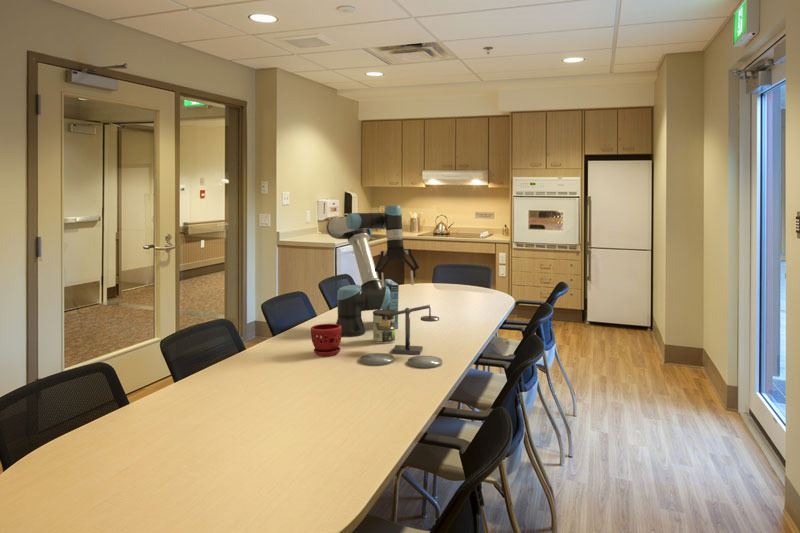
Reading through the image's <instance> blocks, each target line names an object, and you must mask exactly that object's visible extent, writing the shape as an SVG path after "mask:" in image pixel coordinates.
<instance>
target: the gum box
mask: <svg viewBox="0 0 800 533" xmlns="http://www.w3.org/2000/svg"><path fill="white" fill-rule="evenodd" d="M385 285H386V286H388V287H389V289H390V302H389V305H388V307H387V308H385V309H381V310H393V311H395V312H398V311H399V284H398V283H397V282H395V281H393V280H392V279H390V278H387V279H386V278H385V279H384V286H385ZM398 329H399V315H395V330H398Z"/></svg>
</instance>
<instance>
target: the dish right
mask: <svg viewBox="0 0 800 533" xmlns="http://www.w3.org/2000/svg"><path fill="white" fill-rule="evenodd" d="M407 365H408V366H410V367H412V366H413V368H416V367H417V368H418V369H435V368H438V367H441V366H442V365H443V359H442V358H441V357H438V356H435V355H434V356H433V355H416V356H411V357H409V358H408V359H407ZM417 368H416V369H417Z"/></svg>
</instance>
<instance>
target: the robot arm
mask: <svg viewBox="0 0 800 533" xmlns="http://www.w3.org/2000/svg"><path fill="white" fill-rule="evenodd" d="M402 214H403V213H402V207H401V205H398V204H397V205H395V204H392V205H386V206H385V207H384V211H383V212H352V213H348V214H346V216H345V217H344V216H340V217H338V216H337V217H334V218H331V219H330V220H329V221H328V222H327V223H326V226H325V227H326V232H327V234H328V235H329V236H330V237H331V238H333V239H337V240H347V242H348V244H349V245H350V246H352V249H353V253H354V254H353V255H354V256H355V261H356V264H357V268H358V272H359V275H360V279H361V280H360V281H361V283H362V284H361V285H360V284H350V285H345V286H342V287H339V288H338V290H337V297H336V299H337V300H336V301H337V319H336V321H335V324H338V325H340V326H341V337H358V336H363V335H364V334H365V333H366V328H365V325H364V322H363V319H362V312H366V311H367V312H368V311H375V310H382V309H385V308H387V307H388V305H389V302H390V289H389V287H388V286H386V285H385V286H384V272H383V270H384V269H385V268H386V267H387V265H388V264H389V262H390V261H391V260H392V261H396V260H397V261H399V260H402V261H403V262H404V263H405V264H406V265H407V266H408V268H410V285H411V286H414V285H415V283H414V282H415V281H414V278H416V270H418V269H420V266H419V265H418V262H417V261H416V260H415V257H414V256H413V254H412V250H411V249H410V248H409V249H404V248H405V247H404V240H403V238H404V234H403V219H402V218H403V217H402ZM372 230H385V236H386V237H385V238H386V251H385V250H381V251H380V253H379V257H378V260H377V263H376V264H375V261H374V258H373V254H372V250H371V246H370V243H369V241H370V239H371V237H372V234H373V231H372ZM405 254H406V255H408V258H409V260H410V261H411V262H412V263H411V262H410V261H409V260H408V259H407V258H406V257H405V256H404V255H405ZM386 255H387V256H388V257H387V258H386V260H385V261H384V262H383V264H382V265H381V262H382V260H383V259H384V256H386ZM380 265H381V266H380ZM379 267H380V268H379Z"/></svg>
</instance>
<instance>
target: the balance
mask: <svg viewBox="0 0 800 533" xmlns="http://www.w3.org/2000/svg"><path fill="white" fill-rule="evenodd" d="M431 308H432V306H431V304H428V305H421V306H417V307H413V308H410V307H405V309H402V310H398V312H393V313H388V314H385V320H382V321H381V325H379V326H377V330H381V331H390V330H394V329H395V326H393V325H390V320H386V317H390V316H394V315H398V316H399V315H403V314H405V318H404V320H405V321H404V322H405V323H404V325H405V327H404V328H405V329H404V330H405V332H404V334H405V336H404V337H405V338H404V340H405V341H404V344H405V345H403V344H402V345H399V344H396V345H394V346H393V348H392V350H391V351H392V354H400V355H415V354H418V355H417V356H421V354H420V353H422V352H423V348H424V347H423V346H422V345H411V312H417V311H421V310H426V309H427V310H429V312H428V315H424V316H423V315H422V316H421V317H420V321H422V322H426V323H427V322H429V323H431V322H432V323H433V322H438V321H440V317H439V316H435V315H431V313H432V310H431ZM395 330H396V329H395Z"/></svg>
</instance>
